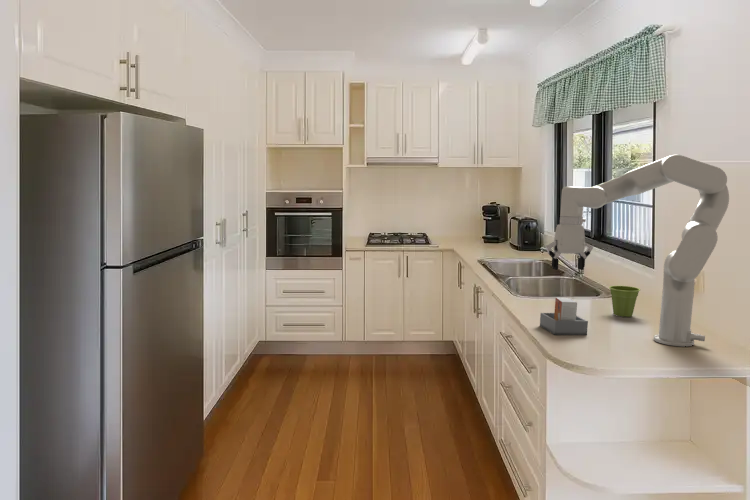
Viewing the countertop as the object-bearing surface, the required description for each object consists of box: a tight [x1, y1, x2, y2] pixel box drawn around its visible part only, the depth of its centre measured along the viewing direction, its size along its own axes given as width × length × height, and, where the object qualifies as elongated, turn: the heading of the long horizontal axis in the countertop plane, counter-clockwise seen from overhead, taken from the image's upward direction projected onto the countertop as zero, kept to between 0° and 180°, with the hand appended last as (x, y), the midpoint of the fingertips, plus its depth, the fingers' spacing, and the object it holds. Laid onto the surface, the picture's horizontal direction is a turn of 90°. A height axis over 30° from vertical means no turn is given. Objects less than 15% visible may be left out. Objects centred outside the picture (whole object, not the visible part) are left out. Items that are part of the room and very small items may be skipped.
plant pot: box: [608, 285, 641, 318], centre depth 252 cm, size 12×12×11 cm
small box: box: [553, 297, 578, 321], centre depth 223 cm, size 8×6×10 cm
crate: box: [539, 312, 589, 336], centre depth 223 cm, size 12×13×5 cm
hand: (567, 269), depth 221 cm, fingers open, 9 cm apart
